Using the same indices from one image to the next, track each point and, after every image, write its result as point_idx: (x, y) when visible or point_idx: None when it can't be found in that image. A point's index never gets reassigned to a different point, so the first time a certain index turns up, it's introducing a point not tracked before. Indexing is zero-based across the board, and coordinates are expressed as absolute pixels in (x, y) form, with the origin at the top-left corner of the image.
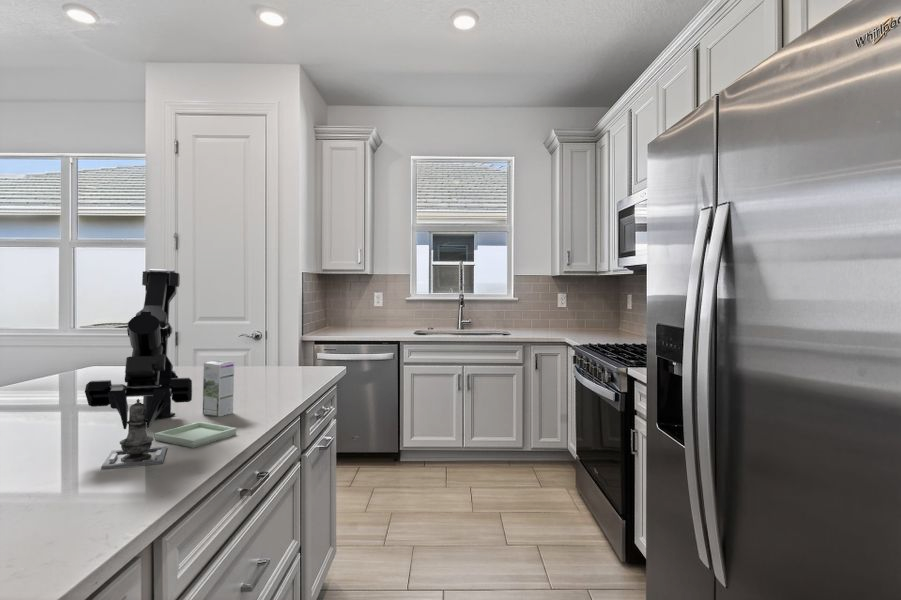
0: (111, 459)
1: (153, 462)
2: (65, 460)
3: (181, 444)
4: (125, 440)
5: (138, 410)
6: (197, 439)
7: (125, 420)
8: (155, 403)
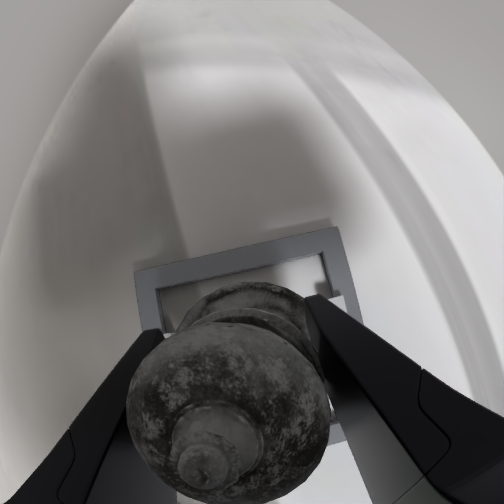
0: (334, 298)
1: (162, 267)
2: (484, 336)
3: None
4: (300, 328)
5: (187, 328)
6: None
7: (322, 320)
8: (53, 479)
